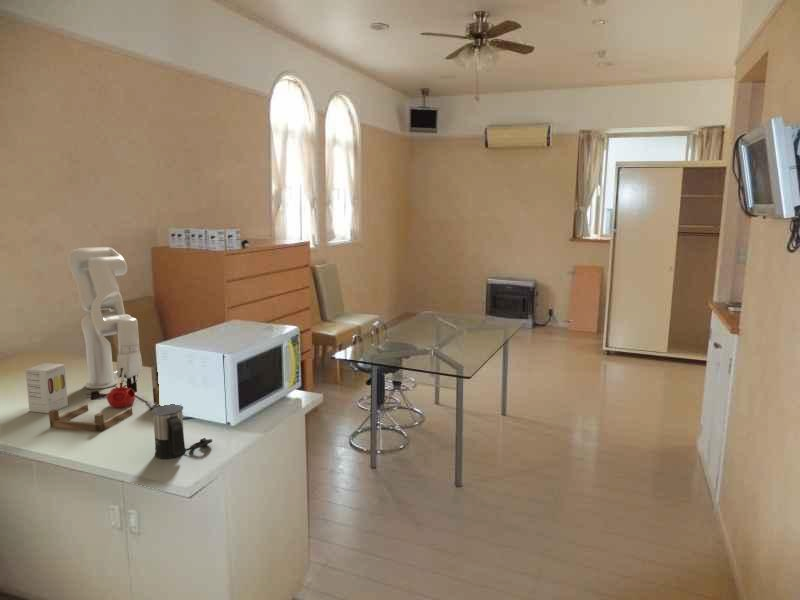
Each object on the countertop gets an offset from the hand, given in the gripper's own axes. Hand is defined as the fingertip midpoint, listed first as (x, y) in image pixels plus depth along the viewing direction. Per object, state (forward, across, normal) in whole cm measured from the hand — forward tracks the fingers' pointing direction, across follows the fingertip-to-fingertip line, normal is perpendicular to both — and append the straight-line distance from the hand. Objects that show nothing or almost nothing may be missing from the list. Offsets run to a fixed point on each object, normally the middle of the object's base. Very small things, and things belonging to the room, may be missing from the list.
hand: (132, 392), depth 220 cm
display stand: (+3, +22, 0) cm, 23 cm away
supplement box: (+3, +15, -25) cm, 30 cm away
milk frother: (+4, +39, +46) cm, 60 cm away
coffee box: (+4, +2, +17) cm, 17 cm away
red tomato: (+3, +7, 0) cm, 7 cm away
